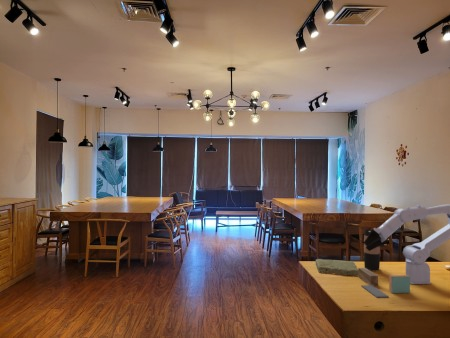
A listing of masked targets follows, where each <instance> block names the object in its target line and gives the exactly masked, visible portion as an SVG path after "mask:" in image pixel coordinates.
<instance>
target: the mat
mask: <svg viewBox="0 0 450 338" xmlns="http://www.w3.org/2000/svg"><path fill="white" fill-rule="evenodd" d="M361 287H362V288H363V289H364V290H365V291H367V292H368V293H370V294H371V295H372V296H374V297H375V298H377V299H379V298H385V299H386V298H389V295H387V294H386V293H384V292H383V291H382V290H380V289H378V288H377V287H376V286H373V285H369V284H365V285H364V284H362V285H361Z"/></svg>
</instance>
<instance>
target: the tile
mask: <svg viewBox="0 0 450 338" xmlns="http://www.w3.org/2000/svg"><path fill="white" fill-rule="evenodd" d="M388 281H389V282H388V283H389V284H388V285H389V286H388V287H389V289H388V292H389V293H391V294H410V293H411V283H410V276H408V275H406V274H390V275H389V279H388Z"/></svg>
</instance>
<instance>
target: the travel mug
mask: <svg viewBox="0 0 450 338" xmlns="http://www.w3.org/2000/svg"><path fill="white" fill-rule="evenodd" d="M373 230H374V229H373ZM370 231H371V229H365V230H363V234H364V235H363V242H364V241H365V240H366V239H367V237H368V236H369V234H370ZM374 231H375V230H374ZM366 247H367V246H366V245H365V244H364V243H363V258H364V259H363V263H364V264H363V265H364V268H366V269H368V270H370V271H371V272H377V271H380V265H381V264H380V263H381V262H380V260H381V259H380V258H381V246H379V247H376V248H374V249H373V250H371V251H369V250H368V249H366Z"/></svg>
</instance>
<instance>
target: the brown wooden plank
mask: <svg viewBox="0 0 450 338" xmlns="http://www.w3.org/2000/svg"><path fill="white" fill-rule="evenodd" d="M357 268H358V276H357V277H358V278H359V279H361V280H362V281H363V282H365V283H366V284H367V285H373V286H374V287H376V286H379V275H377V274H376V273H374V271H371V270H368V269H366V268H365V267H357Z"/></svg>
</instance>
